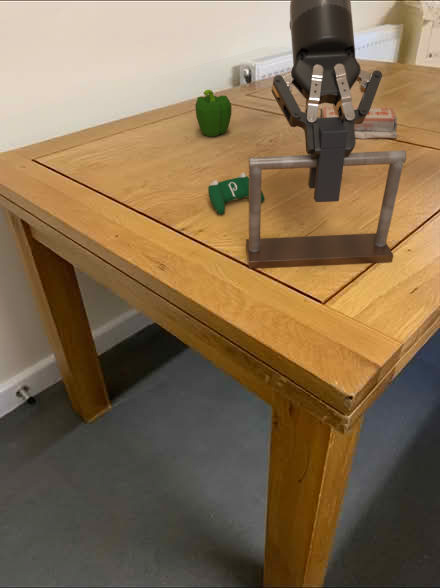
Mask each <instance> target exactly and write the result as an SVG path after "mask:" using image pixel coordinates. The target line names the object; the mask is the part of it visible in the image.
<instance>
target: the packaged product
mask: <svg viewBox="0 0 440 588" xmlns="http://www.w3.org/2000/svg"><path fill="white" fill-rule="evenodd" d="M353 109H354V110H356V109H358V106H357V107H355V106H353ZM319 113H320V114H319V116H317V118H328V117H338V116H337V114H336V113H335V111H334V107H333V106H323V107H321V108H320V112H319ZM397 128H398V117H397V113H396V109H394V108H391V107H371V108H370V111H369V113H368V114H367V115H366V117H365V119H364V121H363V123H361V124H355V125H354V130H355V139H360V140H361V139H362V140H364V139H365V140H366V139H397V138H398V133H397Z"/></svg>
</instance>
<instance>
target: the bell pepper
mask: <svg viewBox="0 0 440 588" xmlns="http://www.w3.org/2000/svg"><path fill="white" fill-rule="evenodd" d="M203 95H204V96H198V97H197V98H196V102H195V105H194V107H195V115H196V116H195V117H196V120H197V124H198V127H199V130H200V131H201V133H202V135H203V136H207V137H212V138H213V137H216V136H220V135H222V134H226V133H227V131H228V129H229V126H230V123H231V118H232V104H231V101H230V99H229V98H228V96H227V95H219V96H216V95H214V91H213V90H212V89H205V90H204V91H203Z"/></svg>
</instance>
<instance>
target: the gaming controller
mask: <svg viewBox="0 0 440 588" xmlns="http://www.w3.org/2000/svg"><path fill="white" fill-rule="evenodd" d="M207 191H208V193H207V194H208V198H209V201H210V203H211V205H212V207H213V209H214V210H215V212H217V214H219V215H223V214H225V213H226V205H225V204H228V203H230V202H232V201H236V200H242V199H244V198H245V197H246V198H247V199H249V176H247V173H246V172H241V173H240V174H239V175H238V176H237V177H234V178H229V179H226V180H222V181H218V180H217V179H214V180H213V181H211V182H210V183H209V184H208V187H207ZM265 200H266V199H265V195H264V192H263V191H262V190H261V204H262V203H264V201H265Z"/></svg>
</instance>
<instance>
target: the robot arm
mask: <svg viewBox="0 0 440 588" xmlns="http://www.w3.org/2000/svg"><path fill="white" fill-rule="evenodd" d="M353 24H354V23H353V13H352V2H351V0H290V3H289V30H290V37H291V51H292V52H291V53H292V63H293V64H292V67H291V69H290V70H291V71H290V73H288V74H286V75H284V76H282V75H280V74H276V75H275V76H274V77H273V79H272V85H271V91H270V92H271V93H272V95H273V97H274V99H275V101H276V103H277V105H278V107H279V109H280V110H281V112H282V114H283V116H284V118H285V120H286V121H287V124H288V125H289V126H290V127H291V128H301V129H302V130H303V131H304V141H305V143H304V144H305V152H306V155H311V157H312V159H318V157H319V155H320V153H321V148H320V136H319V123H316V119H317V117H318V111H319V106H320V105H323V104H330V105H332V107H334V111H335V113H336V114H337V116H338V118H339V120H340V121H341V122H342V124H343V125H344V127H345V128H346V129H347V131H348V133H347V141H346V147H345V157H348V156H349V154H350V153H353V151H354V149H355V147H356V142H357V141H356V138H355V130H354V125H355V124H361V123H363V121H364V119H365V117H366V115H367V114H368V113H369V111H370V108H372V105H373V102H374V99H375V98H376V94H377V92H378V88H379V85H380V83H381V80H382V77H383V73H382V71H380V70H374V71H373V72H372V73H371V72H370V71H369V72H368V71H365V70H362V69H361V65H360V63H359V62H358V61H357V57H356V47H355V46H356V45H355V36H354V35H355V34H354V25H353ZM356 81H357V82H358V83H359V88H358V89H359V90H360V92H361V93H362V95H361V98H360V101H359V104H358V106H357V107H358V109H356V110H354V109H353V107H354V106H353V102H352V100H353V96H352V93H351V89H352V87H353V86H354V84H355V83H356ZM293 86H294V87H295V88H296V89H297V91H298V92H299V93H300V94H301V96H303V97H304V98H305V106H304V111H302V110H301V108H300V105H298V102H297V100H296V99H295V96H294V95H293V93H292V90H293Z"/></svg>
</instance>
